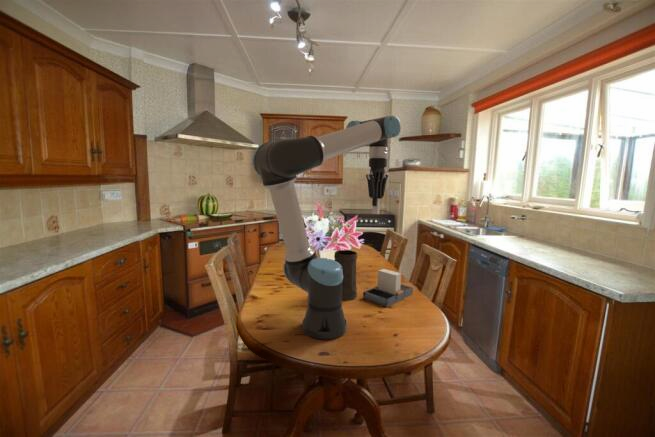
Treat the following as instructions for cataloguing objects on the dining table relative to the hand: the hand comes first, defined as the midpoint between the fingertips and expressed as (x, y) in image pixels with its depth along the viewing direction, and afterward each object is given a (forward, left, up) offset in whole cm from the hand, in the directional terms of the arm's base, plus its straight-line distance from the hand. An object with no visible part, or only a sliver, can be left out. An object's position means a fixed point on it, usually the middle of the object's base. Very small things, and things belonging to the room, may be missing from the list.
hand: (375, 213), depth 130 cm
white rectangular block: (+3, -6, -35) cm, 36 cm away
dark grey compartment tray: (+3, -6, -36) cm, 37 cm away
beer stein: (-8, +9, -37) cm, 39 cm away
